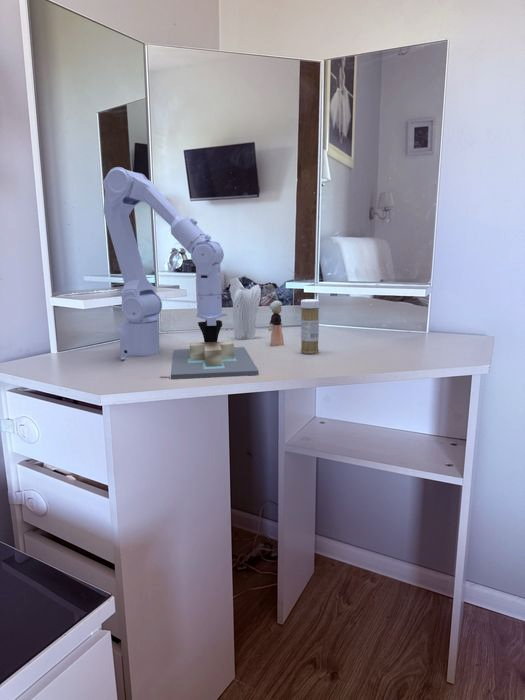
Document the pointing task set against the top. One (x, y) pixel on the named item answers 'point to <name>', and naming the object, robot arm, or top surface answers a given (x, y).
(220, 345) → the maple T block
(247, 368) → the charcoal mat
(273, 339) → the grandmother figurine
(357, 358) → the top surface
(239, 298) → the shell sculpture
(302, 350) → the sprinkles bottle
